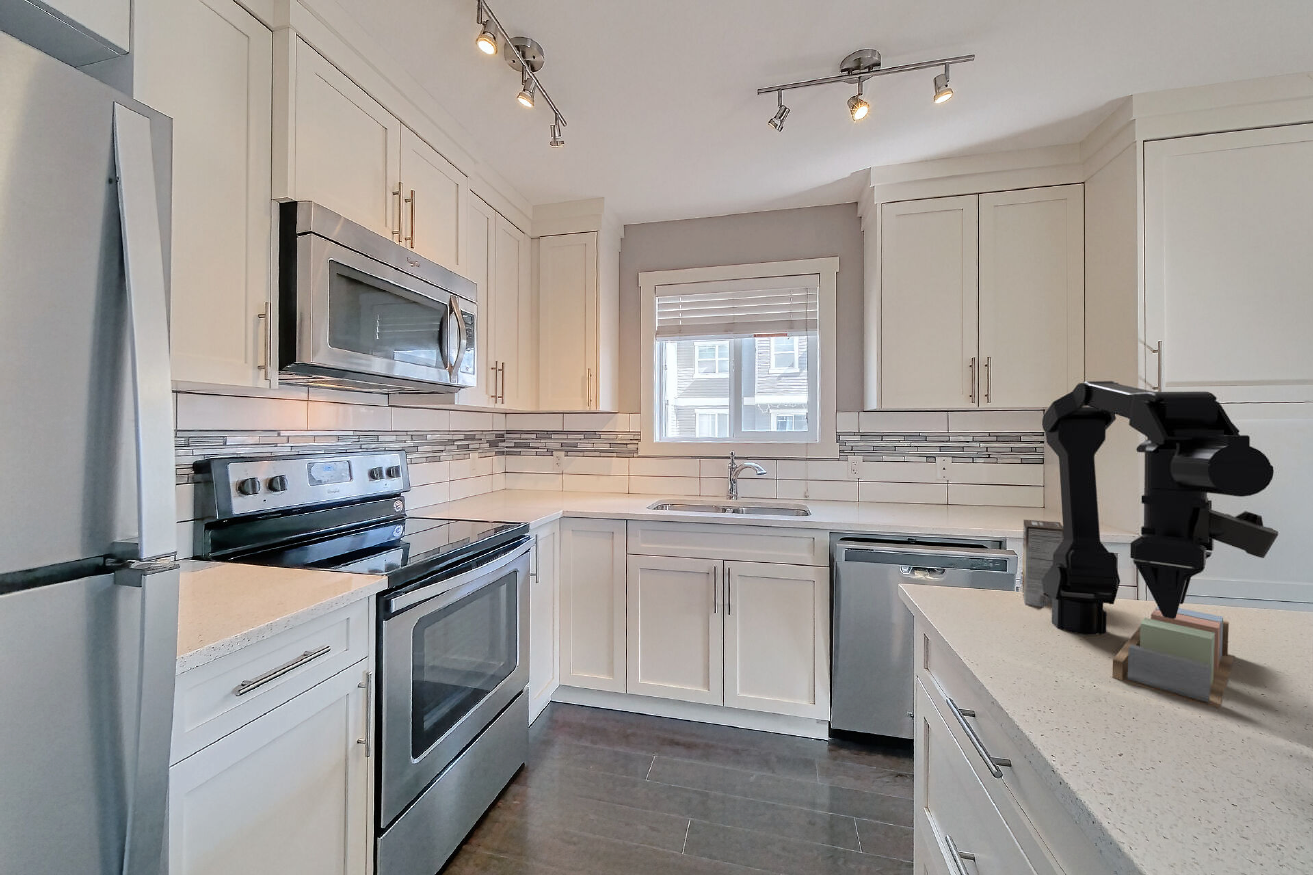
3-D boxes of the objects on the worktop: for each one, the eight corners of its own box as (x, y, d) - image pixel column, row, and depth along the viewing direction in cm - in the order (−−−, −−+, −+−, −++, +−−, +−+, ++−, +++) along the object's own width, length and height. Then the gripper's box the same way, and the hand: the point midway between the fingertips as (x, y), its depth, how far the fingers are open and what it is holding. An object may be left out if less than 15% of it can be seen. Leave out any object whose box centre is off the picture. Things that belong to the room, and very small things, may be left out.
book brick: (1217, 669, 74) (1218, 628, 74) (1150, 652, 79) (1151, 614, 79) (1219, 662, 76) (1220, 622, 76) (1154, 646, 81) (1155, 609, 81)
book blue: (1219, 662, 76) (1220, 622, 76) (1154, 646, 82) (1155, 608, 81) (1222, 655, 78) (1223, 616, 78) (1158, 640, 84) (1159, 604, 84)
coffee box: (1020, 592, 111) (1022, 518, 111) (1058, 597, 108) (1060, 521, 108) (1024, 604, 103) (1026, 525, 103) (1064, 611, 100) (1066, 528, 100)
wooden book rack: (1218, 716, 63) (1220, 668, 63) (1112, 684, 71) (1113, 641, 71) (1234, 662, 78) (1235, 623, 78) (1144, 640, 86) (1145, 604, 86)
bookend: (1208, 703, 64) (1210, 667, 64) (1127, 679, 70) (1128, 646, 70) (1210, 699, 65) (1211, 664, 65) (1129, 676, 71) (1130, 644, 71)
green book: (1210, 687, 69) (1211, 639, 68) (1139, 667, 74) (1140, 623, 74) (1213, 679, 71) (1214, 632, 71) (1143, 661, 76) (1145, 617, 76)
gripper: (1273, 499, 54) (1272, 648, 54) (1271, 490, 66) (1270, 611, 66) (1130, 490, 63) (1129, 619, 62) (1151, 483, 75) (1150, 591, 74)
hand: (1173, 610), depth 66 cm, fingers open, 9 cm apart
